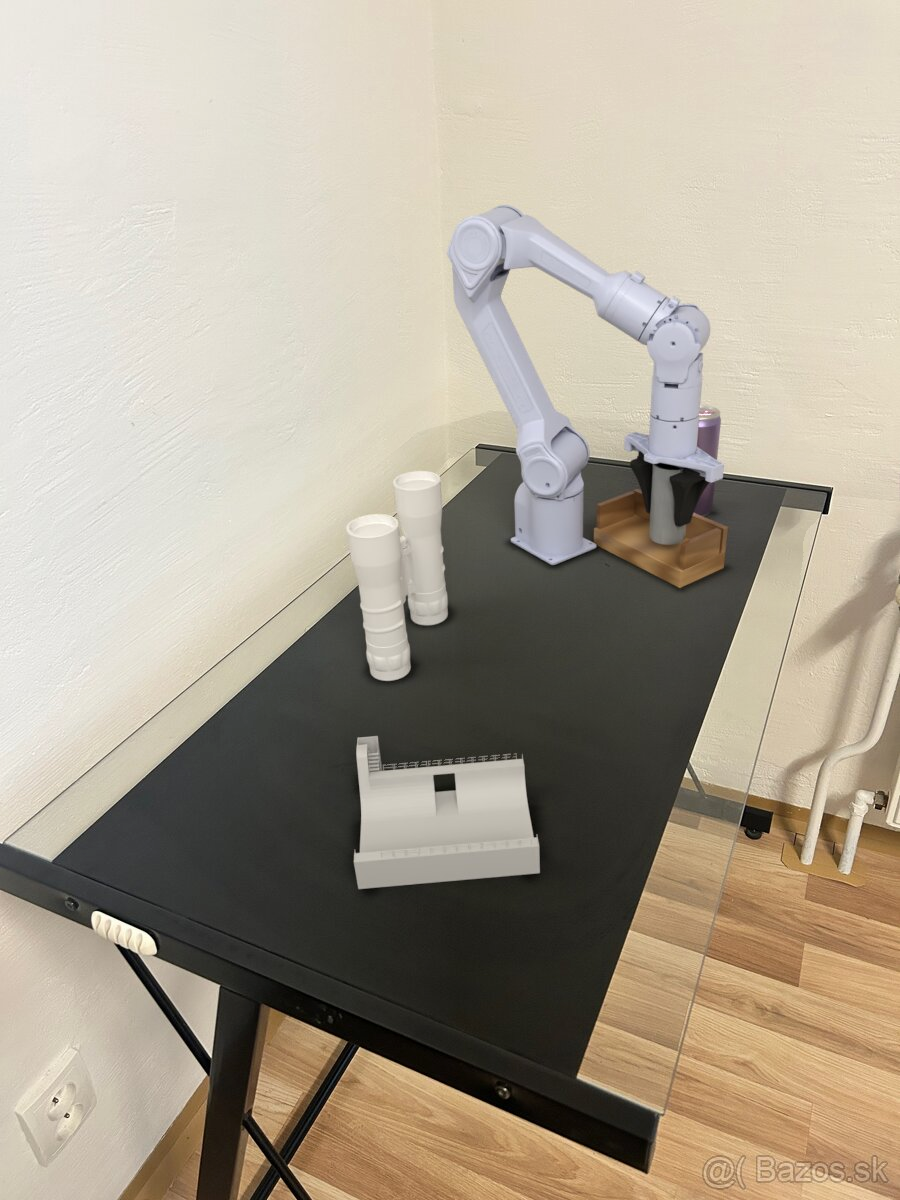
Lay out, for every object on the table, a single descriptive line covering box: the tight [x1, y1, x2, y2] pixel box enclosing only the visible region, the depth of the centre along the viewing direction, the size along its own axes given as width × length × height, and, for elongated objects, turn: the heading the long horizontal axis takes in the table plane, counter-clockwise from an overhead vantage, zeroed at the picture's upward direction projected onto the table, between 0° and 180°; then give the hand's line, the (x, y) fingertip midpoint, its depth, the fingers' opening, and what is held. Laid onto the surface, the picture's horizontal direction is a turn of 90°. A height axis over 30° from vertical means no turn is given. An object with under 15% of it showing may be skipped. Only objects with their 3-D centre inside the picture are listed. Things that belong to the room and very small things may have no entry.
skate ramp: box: [353, 735, 541, 890], centre depth 77 cm, size 15×13×5 cm
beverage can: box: [694, 404, 722, 517], centre depth 125 cm, size 6×6×15 cm
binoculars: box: [345, 470, 449, 682], centre depth 99 cm, size 17×5×18 cm, turn 159°
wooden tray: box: [593, 488, 729, 589], centre depth 116 cm, size 16×8×6 cm, turn 34°
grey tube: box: [649, 463, 686, 545], centre depth 111 cm, size 4×4×10 cm
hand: (667, 517), depth 112 cm, fingers closed on grey tube, 4 cm apart
